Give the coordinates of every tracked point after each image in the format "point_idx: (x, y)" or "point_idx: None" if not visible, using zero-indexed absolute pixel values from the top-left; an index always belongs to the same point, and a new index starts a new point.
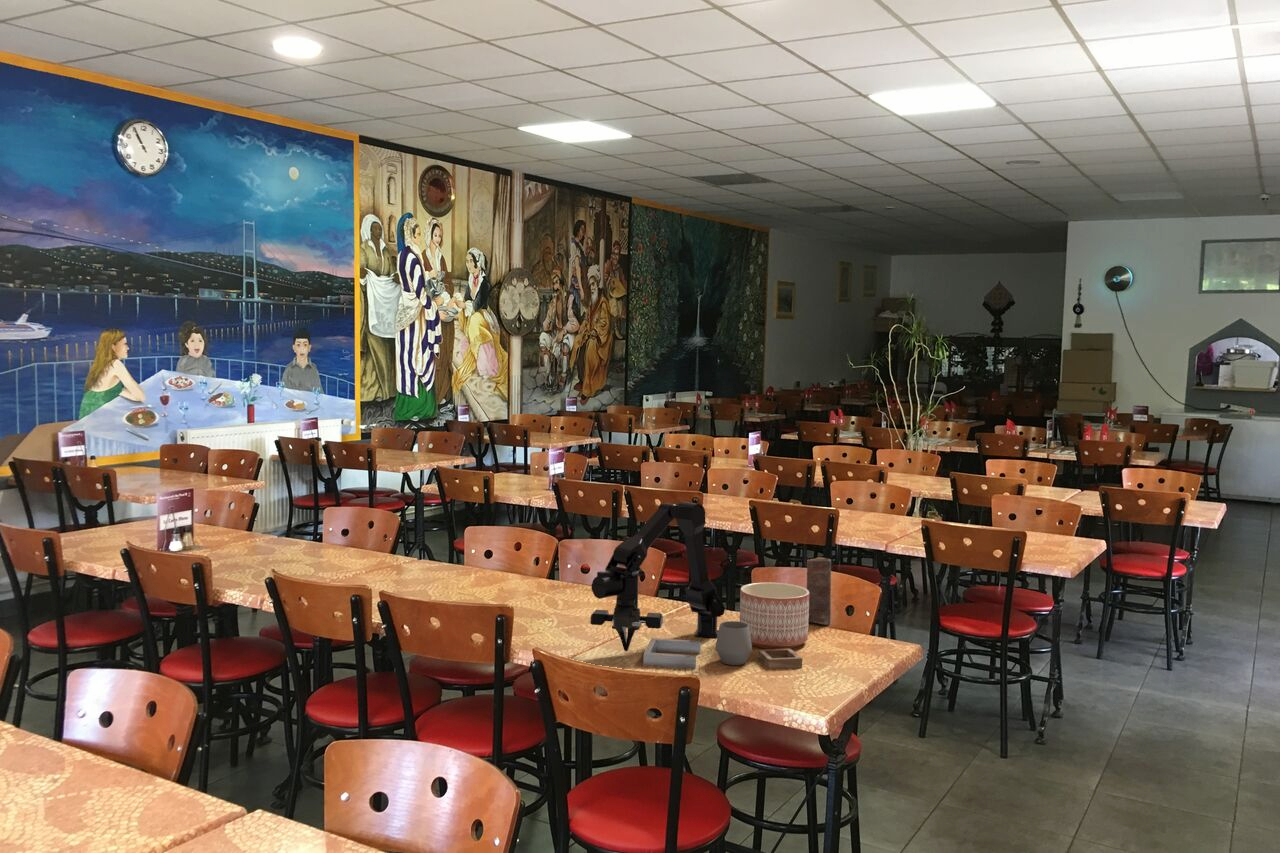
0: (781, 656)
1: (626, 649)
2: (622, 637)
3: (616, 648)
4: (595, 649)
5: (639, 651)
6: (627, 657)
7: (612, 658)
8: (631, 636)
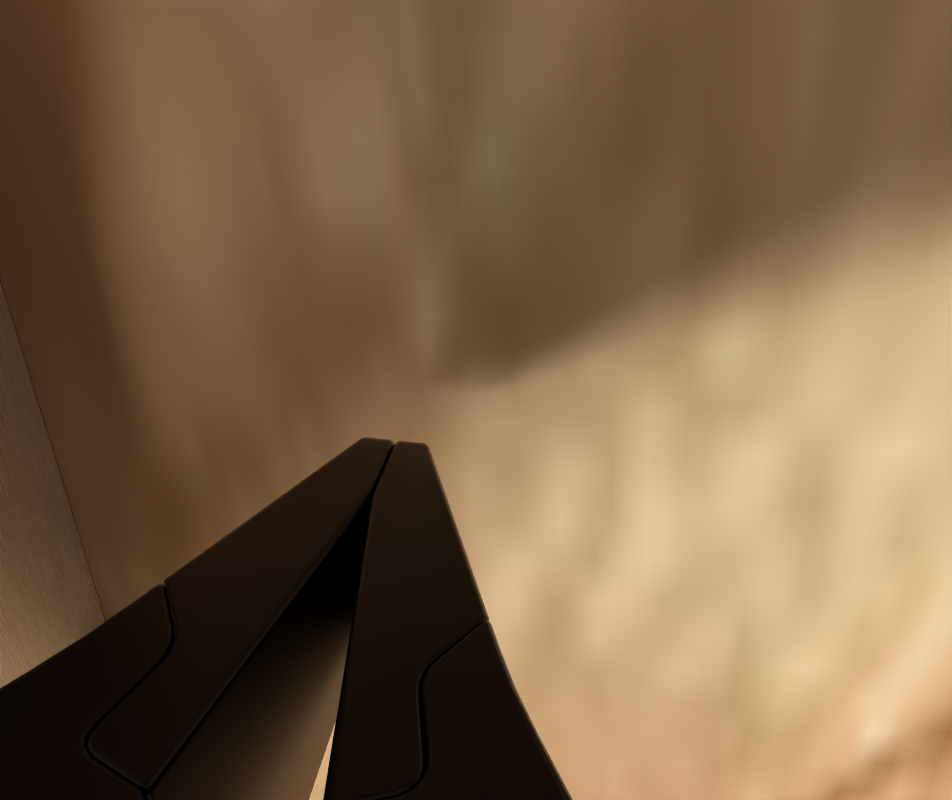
0: None
1: (374, 450)
2: (419, 665)
3: (599, 697)
4: (941, 654)
5: None
6: (368, 307)
7: (677, 202)
8: (49, 675)
